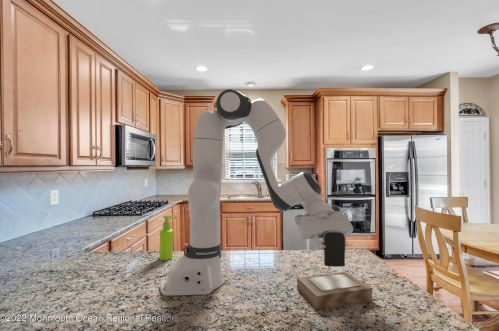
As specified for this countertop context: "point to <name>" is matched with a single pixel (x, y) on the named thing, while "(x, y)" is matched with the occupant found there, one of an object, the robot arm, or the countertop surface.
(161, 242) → the soap dispenser
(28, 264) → the countertop surface
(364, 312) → the countertop surface
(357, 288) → the brown flat rectangular block
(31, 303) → the countertop surface
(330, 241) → the battery charger
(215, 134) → the robot arm
